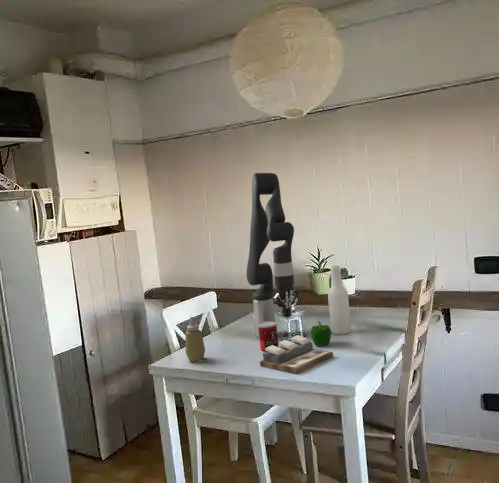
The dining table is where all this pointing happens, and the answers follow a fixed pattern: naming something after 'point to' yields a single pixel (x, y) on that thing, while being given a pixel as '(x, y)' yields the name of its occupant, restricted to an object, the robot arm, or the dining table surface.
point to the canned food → (267, 335)
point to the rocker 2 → (288, 344)
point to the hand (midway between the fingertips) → (287, 316)
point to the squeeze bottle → (194, 342)
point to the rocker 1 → (275, 350)
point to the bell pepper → (321, 334)
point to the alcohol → (338, 304)
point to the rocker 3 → (300, 339)
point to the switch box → (295, 358)
